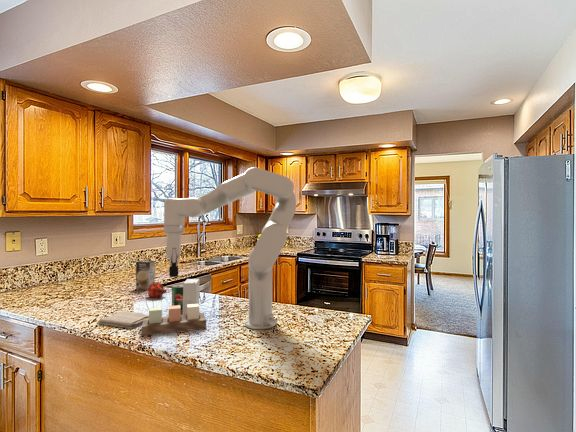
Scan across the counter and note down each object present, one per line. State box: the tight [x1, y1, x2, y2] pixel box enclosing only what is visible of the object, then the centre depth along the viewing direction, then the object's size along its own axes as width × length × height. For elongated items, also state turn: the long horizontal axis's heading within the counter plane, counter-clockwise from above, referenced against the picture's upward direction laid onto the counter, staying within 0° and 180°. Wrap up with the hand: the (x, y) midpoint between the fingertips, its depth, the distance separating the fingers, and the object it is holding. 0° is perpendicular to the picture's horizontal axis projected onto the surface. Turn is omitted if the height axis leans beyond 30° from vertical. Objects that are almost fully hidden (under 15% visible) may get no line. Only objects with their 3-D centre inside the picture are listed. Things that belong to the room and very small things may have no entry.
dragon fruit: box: [146, 281, 167, 299], centre depth 176 cm, size 8×8×12 cm
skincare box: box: [182, 278, 201, 315], centre depth 147 cm, size 8×6×15 cm
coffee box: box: [135, 259, 156, 290], centre depth 197 cm, size 9×6×16 cm
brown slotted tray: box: [141, 312, 207, 336], centre depth 129 cm, size 23×10×3 cm, turn 110°
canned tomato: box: [171, 283, 183, 312], centre depth 155 cm, size 8×8×11 cm
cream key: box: [187, 303, 200, 320], centre depth 132 cm, size 4×4×5 cm
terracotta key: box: [168, 305, 182, 322], centre depth 129 cm, size 4×4×5 cm
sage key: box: [148, 306, 163, 324], centre depth 127 cm, size 4×4×5 cm
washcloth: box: [97, 310, 149, 329], centre depth 136 cm, size 12×18×3 cm, turn 73°
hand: (173, 276), depth 129 cm, fingers closed
